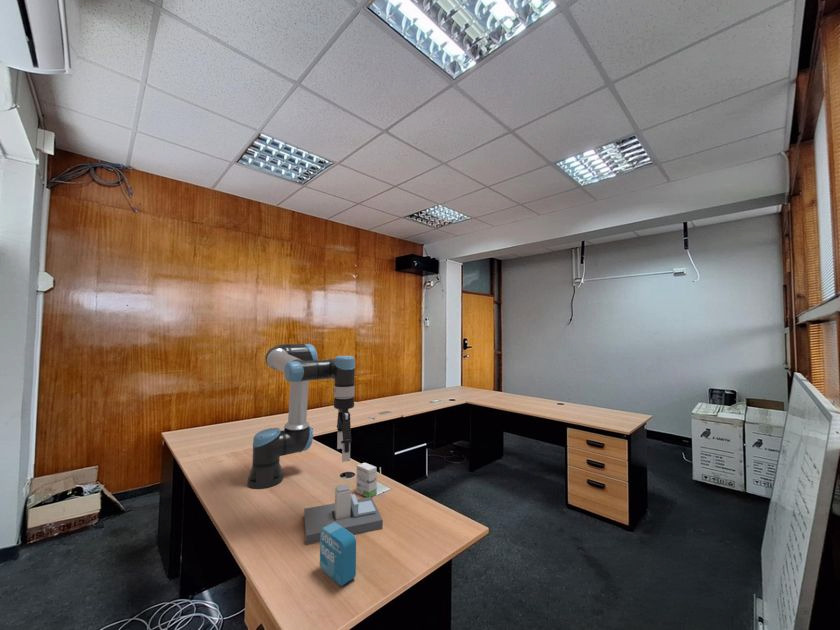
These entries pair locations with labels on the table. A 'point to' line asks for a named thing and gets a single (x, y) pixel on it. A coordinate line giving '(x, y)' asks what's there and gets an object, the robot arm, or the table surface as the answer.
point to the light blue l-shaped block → (361, 507)
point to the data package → (338, 553)
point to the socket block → (338, 521)
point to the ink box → (366, 480)
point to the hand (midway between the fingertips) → (343, 454)
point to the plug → (342, 502)
